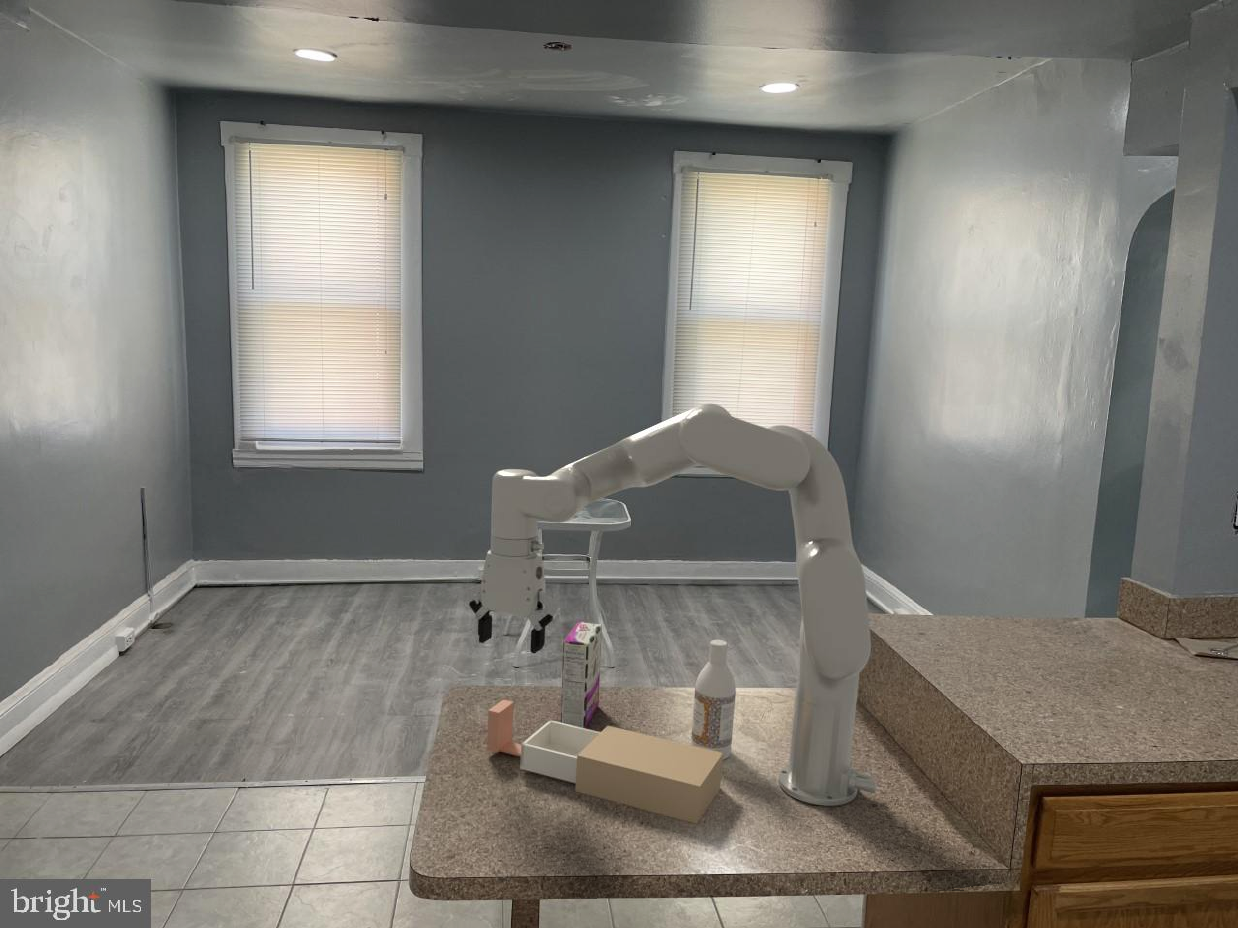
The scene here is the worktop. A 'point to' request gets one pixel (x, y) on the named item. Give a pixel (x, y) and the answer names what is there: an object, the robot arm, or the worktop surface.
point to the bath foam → (714, 703)
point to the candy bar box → (581, 674)
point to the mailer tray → (539, 743)
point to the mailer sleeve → (649, 773)
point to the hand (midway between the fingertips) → (510, 645)
